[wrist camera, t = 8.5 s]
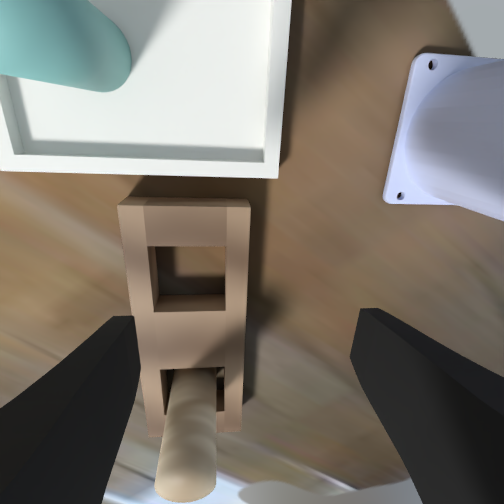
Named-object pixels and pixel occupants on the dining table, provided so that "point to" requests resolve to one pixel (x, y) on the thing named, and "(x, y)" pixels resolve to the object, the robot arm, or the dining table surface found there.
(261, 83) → the tray
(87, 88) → the teal dowel
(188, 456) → the birch dowel
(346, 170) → the dining table surface
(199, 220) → the rack
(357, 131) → the dining table surface
